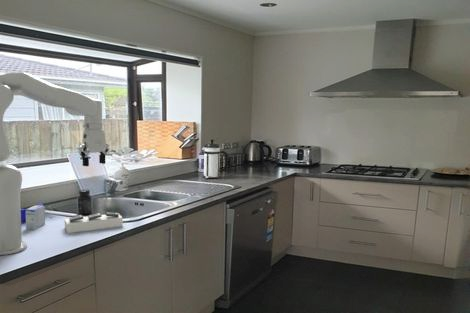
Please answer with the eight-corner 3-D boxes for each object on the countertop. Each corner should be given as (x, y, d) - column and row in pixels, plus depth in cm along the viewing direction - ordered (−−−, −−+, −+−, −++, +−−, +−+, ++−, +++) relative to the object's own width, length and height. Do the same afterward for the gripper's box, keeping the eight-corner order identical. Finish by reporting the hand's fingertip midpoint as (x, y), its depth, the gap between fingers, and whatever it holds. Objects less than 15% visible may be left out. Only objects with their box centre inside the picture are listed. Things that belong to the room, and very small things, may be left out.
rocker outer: (106, 216, 173) (107, 213, 173) (105, 214, 176) (105, 212, 176) (118, 216, 176) (118, 214, 175) (116, 214, 178) (117, 212, 178)
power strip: (67, 233, 165) (67, 223, 164) (64, 227, 172) (64, 218, 171) (122, 226, 176) (122, 217, 176) (118, 221, 183) (118, 212, 182)
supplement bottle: (74, 214, 192) (73, 190, 191) (84, 211, 198) (84, 188, 197) (84, 216, 189) (84, 192, 188) (95, 213, 196) (94, 189, 194)
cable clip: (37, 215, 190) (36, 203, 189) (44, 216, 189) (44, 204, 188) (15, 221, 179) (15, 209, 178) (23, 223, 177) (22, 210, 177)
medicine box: (35, 223, 176) (34, 205, 175) (45, 224, 176) (44, 205, 175) (25, 229, 168) (25, 209, 167) (36, 229, 168) (35, 209, 167)
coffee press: (214, 180, 292) (215, 140, 288) (197, 178, 300) (198, 139, 297) (227, 177, 306) (228, 139, 303) (211, 175, 315) (212, 138, 311)
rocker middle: (89, 220, 169) (88, 217, 169) (87, 218, 172) (87, 215, 172) (101, 216, 172) (101, 214, 172) (100, 215, 174) (99, 212, 174)
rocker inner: (70, 222, 166) (70, 219, 165) (69, 220, 168) (69, 217, 168) (83, 218, 168) (82, 216, 168) (82, 216, 171) (81, 214, 171)
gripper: (83, 128, 166) (84, 167, 168) (113, 126, 181) (114, 163, 184) (71, 127, 170) (72, 166, 172) (102, 125, 185) (102, 161, 187)
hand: (94, 164), depth 178 cm, fingers open, 9 cm apart
